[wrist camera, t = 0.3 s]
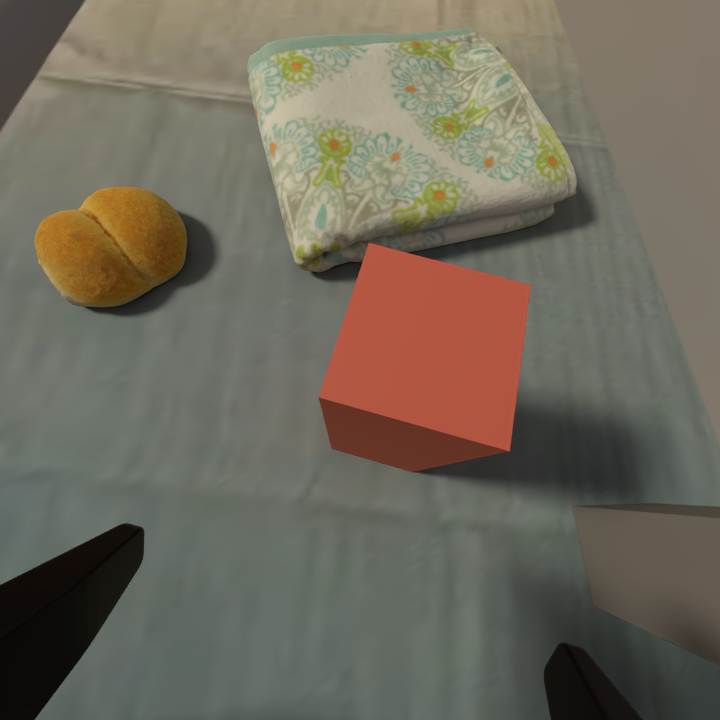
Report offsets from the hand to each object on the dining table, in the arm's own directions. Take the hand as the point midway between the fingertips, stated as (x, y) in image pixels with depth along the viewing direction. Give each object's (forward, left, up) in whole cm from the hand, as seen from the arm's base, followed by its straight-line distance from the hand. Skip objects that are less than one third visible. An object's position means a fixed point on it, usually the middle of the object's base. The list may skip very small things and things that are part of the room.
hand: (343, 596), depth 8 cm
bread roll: (+21, +10, -14) cm, 27 cm away
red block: (+5, -4, -13) cm, 15 cm away
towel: (+25, -12, -14) cm, 31 cm away
